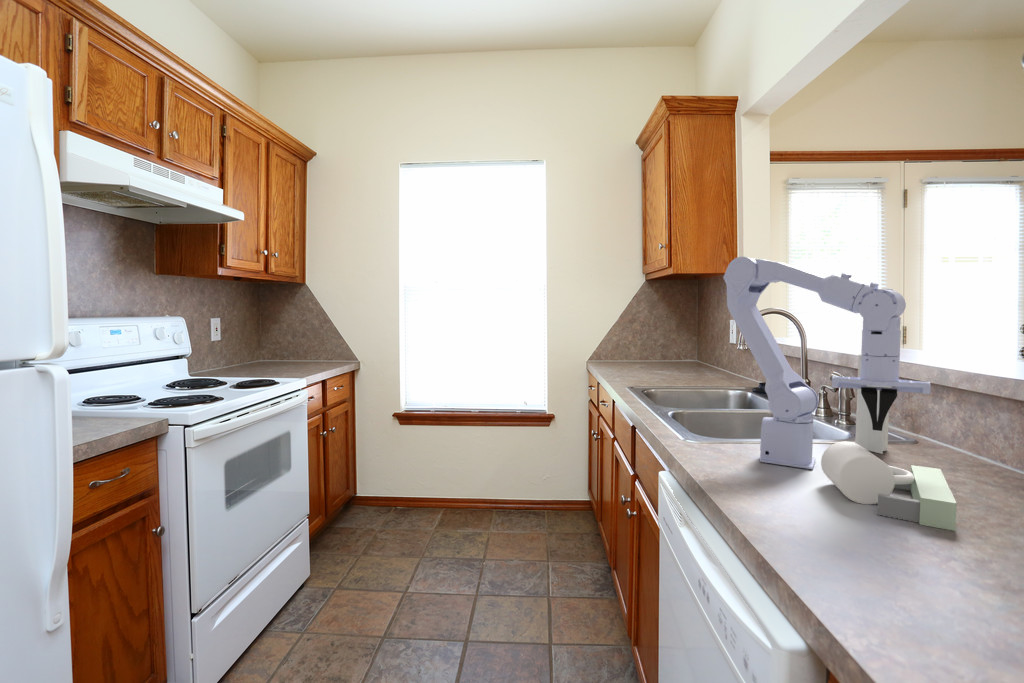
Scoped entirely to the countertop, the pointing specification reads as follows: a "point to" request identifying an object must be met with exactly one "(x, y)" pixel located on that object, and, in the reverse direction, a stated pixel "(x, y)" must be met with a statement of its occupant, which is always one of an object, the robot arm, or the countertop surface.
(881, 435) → the paper towel roll
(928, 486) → the green forked block
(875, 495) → the mug
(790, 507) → the countertop surface
